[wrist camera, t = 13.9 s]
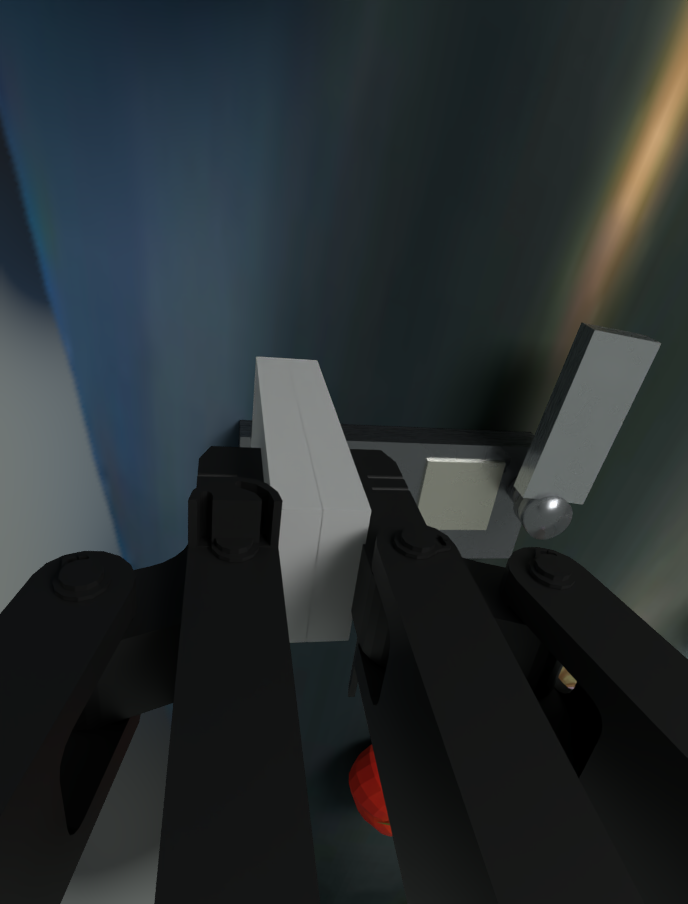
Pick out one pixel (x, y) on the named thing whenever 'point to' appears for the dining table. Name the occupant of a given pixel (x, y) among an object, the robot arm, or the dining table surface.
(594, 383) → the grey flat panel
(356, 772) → the tomato
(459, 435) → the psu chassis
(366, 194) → the dining table surface
